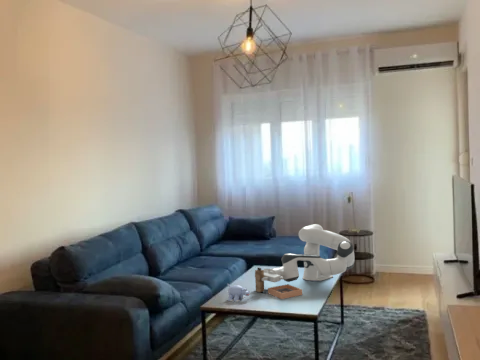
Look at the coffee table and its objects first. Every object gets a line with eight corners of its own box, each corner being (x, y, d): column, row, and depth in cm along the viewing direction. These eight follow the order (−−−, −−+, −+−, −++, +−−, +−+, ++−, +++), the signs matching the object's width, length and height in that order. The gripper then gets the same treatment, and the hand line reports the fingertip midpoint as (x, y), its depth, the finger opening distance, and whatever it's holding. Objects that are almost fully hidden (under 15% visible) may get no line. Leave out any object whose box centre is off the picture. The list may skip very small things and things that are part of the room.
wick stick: (260, 289, 323) (259, 266, 322) (264, 291, 320) (263, 267, 319) (255, 291, 320) (255, 267, 320) (259, 292, 317) (258, 268, 317)
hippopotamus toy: (245, 302, 298) (244, 287, 298) (224, 300, 305) (223, 285, 305) (252, 298, 308) (252, 283, 308) (231, 295, 315) (231, 281, 314)
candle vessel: (288, 289, 325) (288, 284, 325) (302, 294, 311) (302, 289, 311) (268, 293, 317) (267, 288, 317) (281, 299, 303) (281, 293, 303)
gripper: (284, 282, 320) (269, 286, 311) (264, 277, 336) (249, 280, 327) (284, 272, 320) (269, 276, 311) (264, 268, 336) (248, 271, 327)
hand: (258, 278), depth 319 cm, fingers closed on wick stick, 4 cm apart
